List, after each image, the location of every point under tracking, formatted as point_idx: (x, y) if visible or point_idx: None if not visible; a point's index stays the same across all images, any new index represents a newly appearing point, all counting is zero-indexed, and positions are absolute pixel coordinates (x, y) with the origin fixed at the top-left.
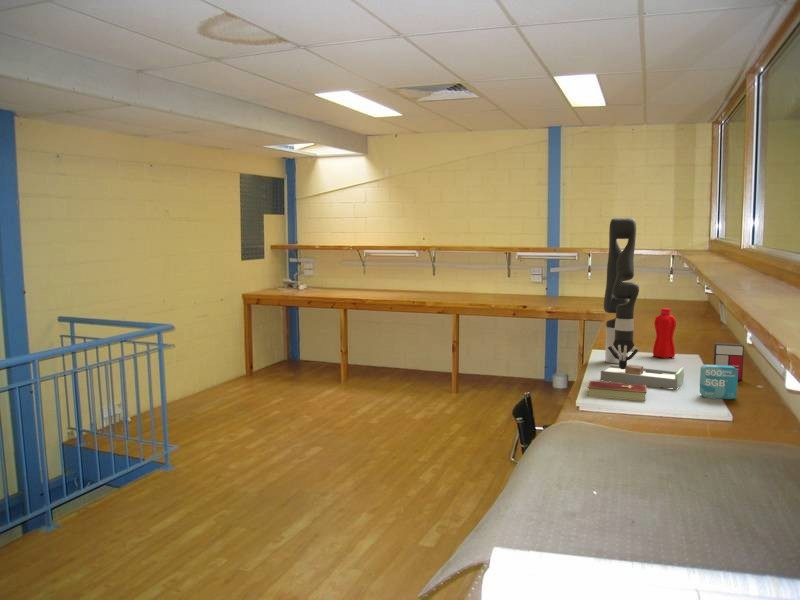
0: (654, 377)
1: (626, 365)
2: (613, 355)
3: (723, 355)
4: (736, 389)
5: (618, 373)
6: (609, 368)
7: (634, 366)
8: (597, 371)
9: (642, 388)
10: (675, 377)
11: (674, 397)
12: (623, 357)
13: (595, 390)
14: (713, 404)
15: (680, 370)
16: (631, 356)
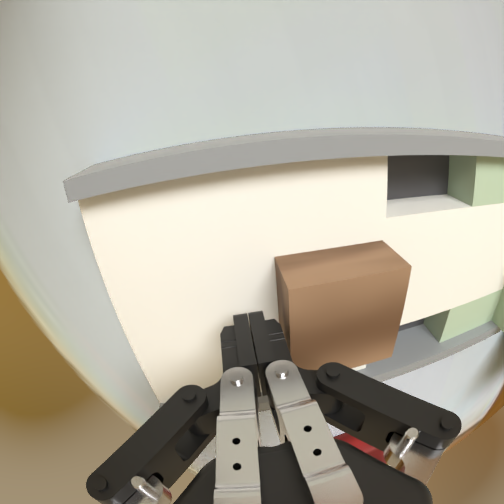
0: (436, 360)
1: (283, 339)
2: (176, 443)
3: None
4: None
5: (264, 409)
6: (101, 253)
7: (351, 334)
8: (10, 170)
9: (380, 460)
10: (502, 329)
11: (448, 389)
12: (277, 424)
13: None
14: (500, 370)
15: None
16: (358, 420)
